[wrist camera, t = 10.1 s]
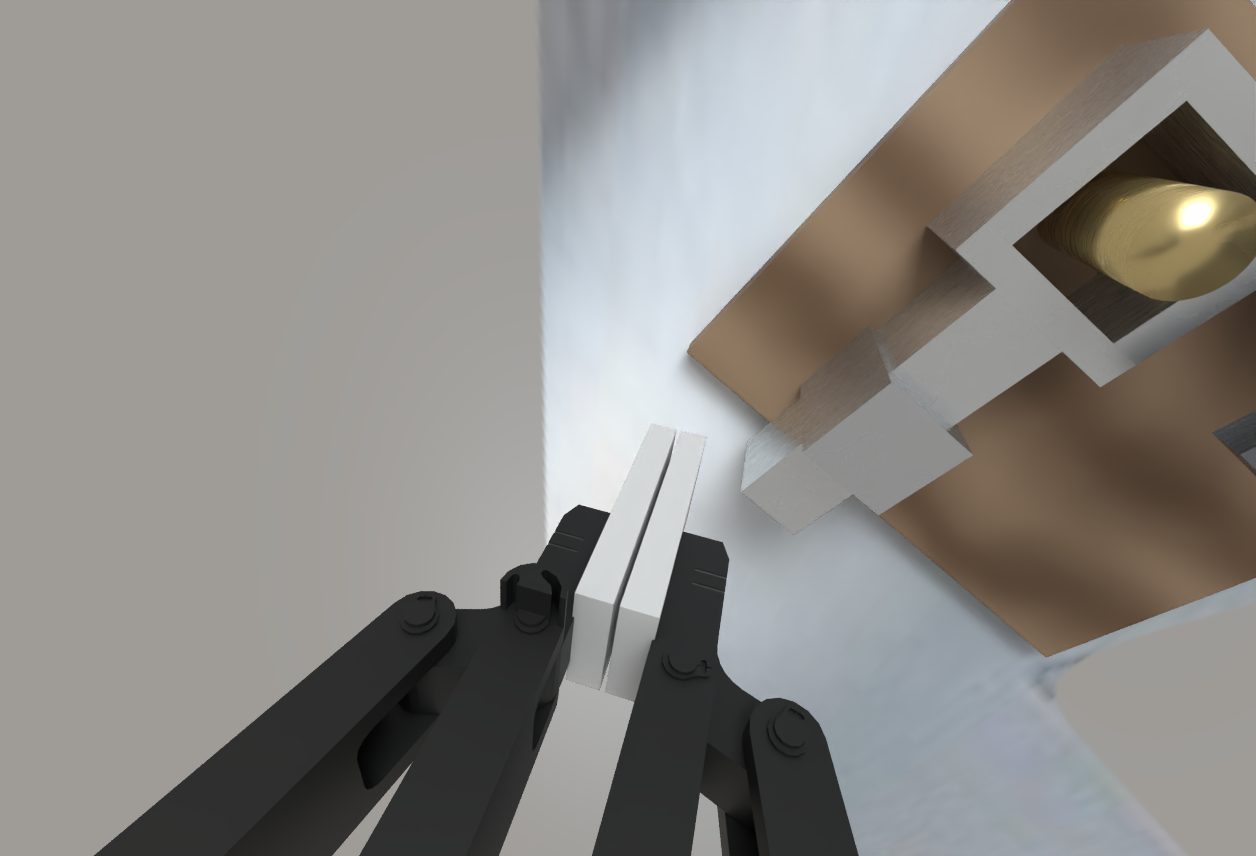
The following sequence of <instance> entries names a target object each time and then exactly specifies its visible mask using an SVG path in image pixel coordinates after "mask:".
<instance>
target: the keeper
mask: <svg viewBox="0 0 1256 856" xmlns="http://www.w3.org/2000/svg"><path fill="white" fill-rule="evenodd" d="M1212 433H1213V434H1214V435H1215V436H1216V437H1217V438H1218V439H1219V440H1220V441H1221V442H1222V443H1223V444H1224V445H1225V446H1226V447H1227V448H1228V449H1229V450H1230V451H1231V452H1232V453H1233V454H1234V455H1235V456H1236V457H1237V458H1238V459H1239V460H1240V461H1241V462H1242V463H1243V464H1244V465H1245V466H1246V467H1247V468H1248V469H1249V470H1250V471H1251V472H1252V473H1253V474H1254V475H1255V476H1256V410H1255V411H1253V412H1251V413H1249V414H1247V415H1245V416H1243V417H1241V418H1239V419H1237V420H1235V421H1234V422H1232V423H1230V424H1228V425H1226V426H1224V427H1222V428H1220V429H1218V430H1216V431H1214V432H1212Z"/></svg>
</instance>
